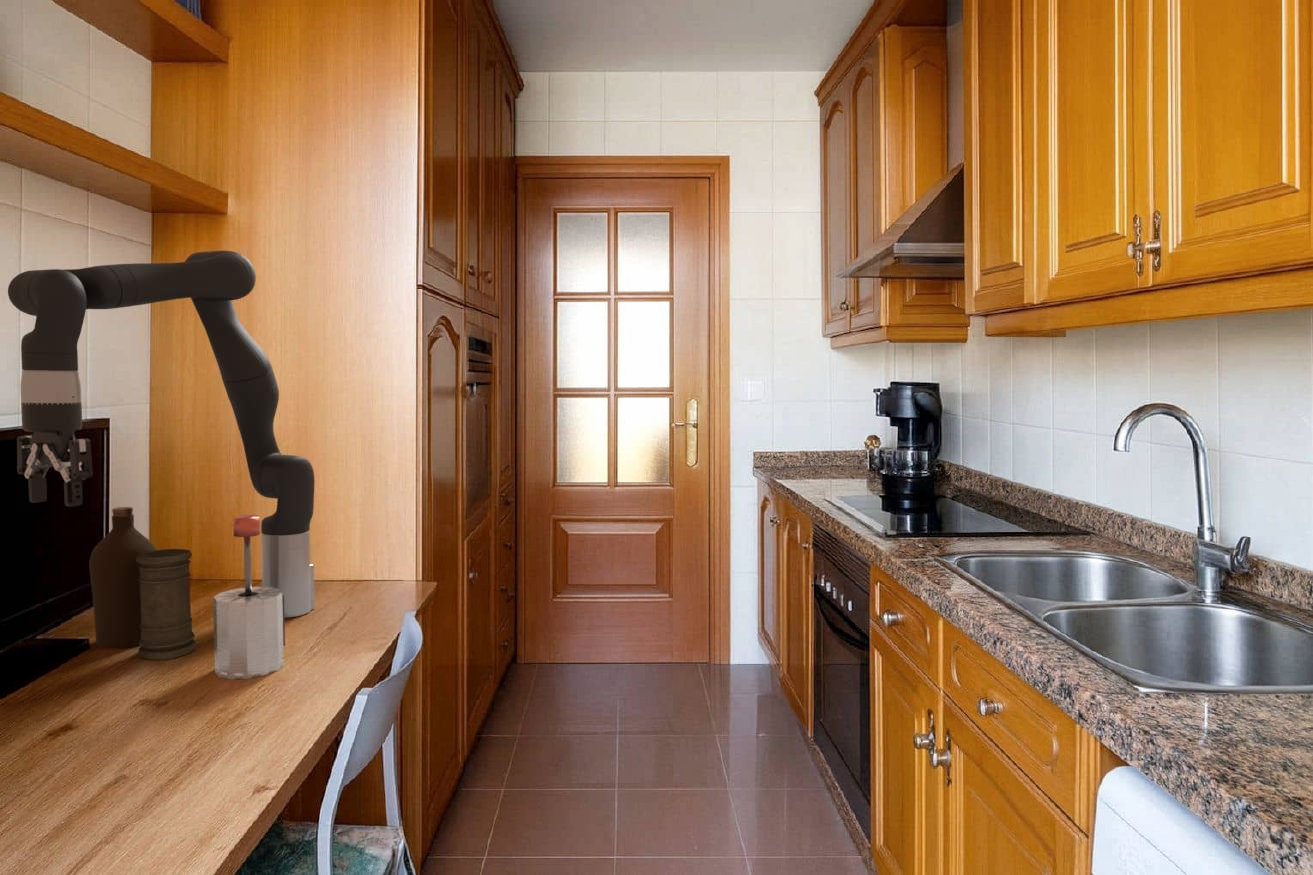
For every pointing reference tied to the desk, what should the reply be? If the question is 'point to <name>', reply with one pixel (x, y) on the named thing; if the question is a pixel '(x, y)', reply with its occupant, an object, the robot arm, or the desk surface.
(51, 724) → the desk surface
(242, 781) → the desk surface
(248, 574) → the plunger
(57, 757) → the desk surface
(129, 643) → the olive oil
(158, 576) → the container
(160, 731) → the desk surface
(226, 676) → the press carafe
